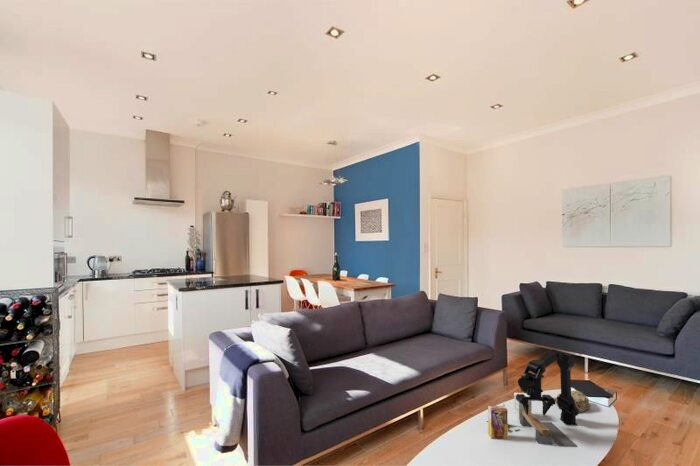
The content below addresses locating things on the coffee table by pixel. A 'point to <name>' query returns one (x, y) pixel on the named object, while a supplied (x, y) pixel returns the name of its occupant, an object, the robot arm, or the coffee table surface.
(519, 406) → the supplement box
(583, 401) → the rock
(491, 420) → the candy box
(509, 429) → the eiffel tower figurine
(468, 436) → the coffee table surface
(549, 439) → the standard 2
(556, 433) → the mat
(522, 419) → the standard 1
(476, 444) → the coffee table surface
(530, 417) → the rail
